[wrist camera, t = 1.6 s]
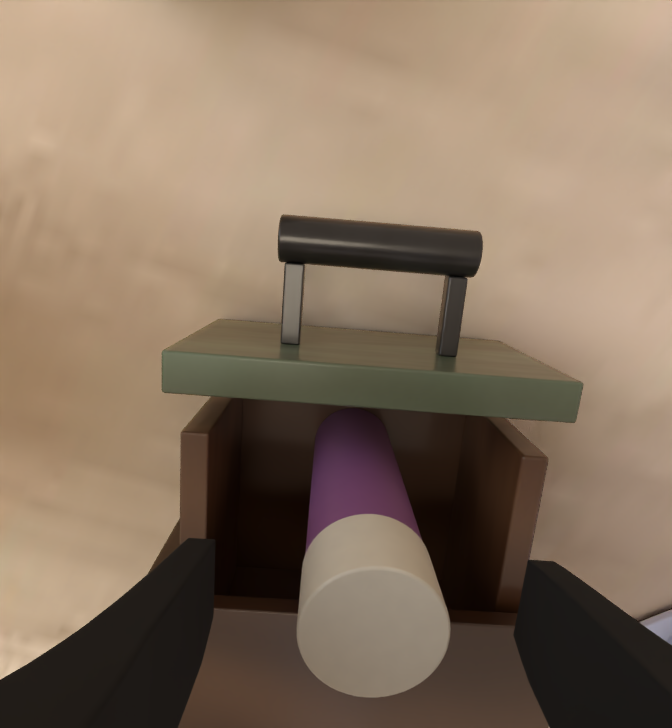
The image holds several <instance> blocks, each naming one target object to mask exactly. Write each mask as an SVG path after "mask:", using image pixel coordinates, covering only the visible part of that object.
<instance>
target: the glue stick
mask: <svg viewBox="0 0 672 728" xmlns="http://www.w3.org/2000/svg"><path fill="white" fill-rule="evenodd" d="M450 631H451V627H450V618H449V614H448V610H447V607H446V604H445V601H444V598H443V595H442V592H441V589H440V586H439V583H438V580H437V577H436V574H435V571H434V568H433V565H432V562H431V559H430V556H429V553H428V551H427V548H426V546H425V545H424V543H423V541H422V538H421V535H420V532H419V529H418V526H417V523H416V520H415V516H414V513H413V510H412V507H411V504H410V501H409V498H408V495H407V492H406V489H405V486H404V482H403V479H402V476H401V473H400V470H399V467H398V464H397V461H396V458H395V455H394V452H393V448H392V445H391V442H390V439H389V436H388V433H387V430H386V428H385V426H384V425H383V423H382V422H381V421H380V420H379V419H378V418H377V417H376V416H375V415H373V414H372V413H370V412H368V411H365V410H362V409H356V408H349V409H343V410H340V411H337V412H335V413H333V414H331V415H330V416H328V417H327V418H326V419H325V420H324V421H323V422H322V424H321V425H320V427H319V428H318V431H317V433H316V437H315V446H314V458H313V469H312V481H311V493H310V505H309V517H308V529H307V541H306V552H305V557H304V560H303V565H302V574H301V585H300V596H299V607H298V618H297V643H298V647H299V650H300V653H301V656H302V658H303V660H304V662H305V663H306V665H307V666H308V668H309V669H310V671H311V672H312V673H313V674H314V675H315V676H316V677H317V678H318V679H320V680H321V681H322V682H323V683H325V684H326V685H328V686H329V687H331V688H333V689H335V690H337V691H340V692H343V693H345V694H349V695H353V696H358V697H385V696H390V695H395V694H398V693H401V692H404V691H406V690H408V689H411V688H413V687H415V686H416V685H418V684H419V683H421V682H422V681H424V680H425V679H426V678H427V677H429V676H430V675H431V674H432V673H433V672H434V671H435V669H436V668H437V667H438V665H439V664H440V663H441V661H442V659H443V657H444V656H445V653H446V650H447V648H448V644H449V640H450Z"/></svg>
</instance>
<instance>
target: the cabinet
mask: <svg viewBox="0 0 672 728" xmlns="http://www.w3.org/2000/svg"><path fill="white" fill-rule="evenodd" d="M179 546H180V519H179V521H178V522H177V524H176V526H175V528H174V529H173V531H172V533H171V534H170V536H169V538H168V540H167V541H166V543H165V545H164V547H163V548H162V550H161V552H160V554H159V555H158V557H157V559H156V561H155V562H154V564H153V566H152V567H151V569H150V571H149V573H150V572H151V571H152V570H153V569H154V568H155V567H157V566H158V565H159V564H160V563H161V562H162V561H163V560H164V559H165V558H166V557H168V556H169V555H170V554H171V553H172V552H173V551H174V550H175V549H176V548H177V547H179ZM149 573H148V574H149ZM148 574H147V575H148ZM298 607H299V600H293V599H277V598H261V597H245V596H228V595H214V614H213V621H212V625H211V629H210V633H209V637H208V641H207V645H206V649H205V653H204V656H203V660H202V664H201V667H200V669H199V672H198V675H197V678H196V680H195V683H194V686H193V689H192V691H191V694H190V697H189V699H188V702H187V705H186V707H185V710H184V713H183V715H182V718H181V721H180V723H179V726H178V728H548V727H549V725H548V723H547V721H546V718H545V716H544V714H543V712H542V710H541V708H540V706H539V703H538V701H537V699H536V697H535V695H534V692H533V690H532V688H531V686H530V684H529V681H528V678H527V675H526V672H525V670H524V667H523V664H522V661H521V658H520V655H519V652H518V648H517V645H516V642H515V639H514V636H513V634H514V629H515V624H516V618H517V613H503V612H487V611H471V610H455V609H447V610H448V614H449V618H450V627H451V631H450V640H449V644H448V648H447V650H446V653H445V656H444V657H443V659H442V661H441V663H440V664H439V665H438V667H437V668H436V669H435V671H434V672H433V673H432V674H431V675H430V676H429V677H427V678H426V679H425V680H424V681H422V682H421V683H419V684H418V685H416V686H415V687H413V688H411V689H408V690H406V691H404V692H401V693H398V694H395V695H390V696H385V697H358V696H353V695H349V694H345V693H343V692H340V691H337V690H335V689H333V688H331V687H329V686H328V685H326V684H325V683H323V682H322V681H321V680H320V679H318V678H317V677H316V676H315V675H314V674H313V673H312V672H311V671H310V669H309V668H308V666H307V665H306V663H305V662H304V660H303V658H302V656H301V653H300V650H299V647H298V643H297V618H298Z"/></svg>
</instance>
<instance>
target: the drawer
mask: <svg viewBox="0 0 672 728" xmlns="http://www.w3.org/2000/svg"><path fill="white" fill-rule="evenodd" d="M482 250H483V241H482V235H481V233H480V232H478V231H471V230H459V229H447V228H436V227H424V226H412V225H401V224H389V223H377V222H366V221H354V220H342V219H330V218H319V217H307V216H295V215H284V214H283V215H282V216H281V218H280V223H279V232H278V258H279V261H280V262H287V263H285V269H284V287H283V305H282V323H281V324H277V323H265V322H252V321H239V320H227V319H218V320H216V321H215V322H213V323H211V324H209V325H208V326H206V327H204V328H202V329H200V330H199V331H197V332H195V333H193V334H191V335H190V336H188V337H186V338H184V339H183V340H181V341H179V342H177V343H175V344H174V345H172V346H170V347H168V348H166V349H165V350H163V351H162V392H164V393H174V394H187V395H201V396H211V398H210V399H209V400H208V401H207V402H206V403H205V405H204V406H203V407H202V408H201V409H200V410H199V412H198V413H197V414H196V415H195V416H194V418H193V419H192V420H191V421H190V422H189V423H188V425H187V426H186V427H185V428H184V429H183V430H182V432H181V469H180V545H181V544H182V543H183V542H184V541H186V540H187V539H188V538H199V539H215V540H216V543H215V578H214V595H228V596H245V597H261V598H277V599H293V600H299V596H300V585H301V574H302V565H303V560H304V557H305V552H306V541H307V529H308V517H309V505H310V493H311V481H312V469H313V458H314V446H315V437H316V433H317V431H318V428H319V427H320V425H321V424H322V422H323V421H324V420H325V419H326V418H327V417H328V416H330V415H331V414H333V413H335V412H337V411H340V410H343V409H349V408H356V409H362V410H365V411H368V412H370V413H372V414H373V415H375V416H376V417H377V418H378V419H379V420H380V421H381V422H382V423H383V425H384V426H385V428H386V430H387V433H388V436H389V439H390V442H391V445H392V448H393V452H394V455H395V458H396V461H397V464H398V467H399V470H400V473H401V476H402V479H403V482H404V486H405V489H406V492H407V495H408V498H409V501H410V504H411V507H412V510H413V513H414V516H415V520H416V523H417V526H418V529H419V532H420V535H421V538H422V541H423V543H424V545H425V546H426V548H427V551H428V553H429V556H430V559H431V562H432V565H433V568H434V571H435V574H436V577H437V580H438V583H439V586H440V589H441V592H442V595H443V598H444V601H445V604H446V607H447V609H455V610H471V611H487V612H503V613H518V608H519V603H520V598H521V593H522V587H523V582H524V577H525V572H526V567H527V562H528V560H529V558H530V553H531V547H532V542H533V537H534V532H535V527H536V522H537V516H538V511H539V506H540V501H541V496H542V491H543V486H544V480H545V475H546V470H547V465H548V457H546V456H545V455H544V454H543V453H542V452H541V451H540V450H539V449H538V448H537V447H536V446H535V445H533V444H532V443H531V442H530V441H529V440H528V439H527V438H526V437H525V436H524V435H523V434H522V433H521V432H519V431H518V430H517V429H516V428H515V427H514V426H513V425H512V424H511V423H510V422H509V421H508V420H506V419H505V418H512V419H525V420H539V421H552V422H566V423H575V422H576V419H577V414H578V409H579V404H580V399H581V394H582V389H583V383H582V382H580V381H578V380H576V379H574V378H572V377H570V376H568V375H566V374H564V373H562V372H560V371H558V370H556V369H554V368H552V367H550V366H548V365H546V364H544V363H542V362H540V361H538V360H536V359H534V358H532V357H530V356H528V355H526V354H524V353H522V352H520V351H518V350H516V349H514V348H512V347H510V346H508V345H506V344H504V343H502V342H500V341H493V340H481V339H468V338H460V331H461V323H462V316H463V309H464V302H465V295H466V288H467V281H468V280H467V278H466V277H469V278H471V277H474V276H475V274H476V273H477V271H478V268H479V266H480V262H481V258H482ZM305 264H311V265H323V266H335V267H347V268H360V269H372V270H384V271H396V272H408V273H420V274H432V275H444V276H445V280H444V287H443V295H442V303H441V310H440V318H439V326H438V334H437V336H430V335H417V334H404V333H392V332H379V331H366V330H354V329H341V328H328V327H316V326H303V325H302V310H303V295H304V280H305Z"/></svg>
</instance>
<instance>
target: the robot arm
mask: <svg viewBox="0 0 672 728" xmlns="http://www.w3.org/2000/svg"><path fill="white" fill-rule="evenodd" d="M215 543H216V540H215V539H199V538H188V539H187V540H186V541H184V542H183V543H182V544H181V545H180V546H179V547H177V548H176V549H175V550H174V551H173V552H172V553H171V554H170V555H169V556H168V557H166V558H165V559H164V560H163V561H162V562H161V563H160V564H159V565H158V566H157V567H155V568H154V569H153V570H152V571H151V572H150V573H149V574H148V575H146V576H145V577H144V578H143V579H142V580H141V581H139V582H138V583H137V584H136V585H135V586H134V587H132V588H131V589H130V590H129V591H128V592H127V593H125V594H124V595H123V596H122V597H121V598H119V599H118V600H117V601H116V602H115V603H113V604H112V605H111V606H109V607H108V608H107V609H106V610H104V611H103V612H102V613H100V614H99V615H98V616H97V617H95V618H94V619H93V620H91V621H90V622H89V623H88V624H86V625H85V626H84V627H82V628H81V629H79V630H78V631H77V632H75V633H74V634H72V635H71V636H70V637H68V638H67V639H65V640H64V641H62V642H61V643H59V644H58V645H56V646H55V647H53V648H52V649H50V650H49V651H47V652H46V653H44V654H43V655H41V656H39V657H38V658H36V659H35V660H33V661H32V662H30V663H28V664H27V665H25V666H23V667H22V668H20V669H18V670H16V671H15V672H13V673H11V674H10V675H8V676H6V677H4V678H3V679H1V680H0V728H178V726H179V723H180V721H181V718H182V715H183V713H184V710H185V707H186V705H187V702H188V699H189V697H190V694H191V691H192V689H193V686H194V683H195V680H196V678H197V675H198V672H199V669H200V667H201V664H202V660H203V656H204V653H205V649H206V645H207V641H208V637H209V633H210V629H211V625H212V621H213V614H214V578H215ZM513 636H514V639H515V642H516V645H517V648H518V652H519V655H520V658H521V661H522V664H523V667H524V670H525V672H526V675H527V678H528V681H529V684H530V686H531V688H532V690H533V692H534V695H535V697H536V699H537V701H538V703H539V706H540V708H541V710H542V712H543V714H544V716H545V718H546V721H547V723H548V725H549V727H550V728H672V609H671V610H668V611H666V612H663V613H661V614H658V615H655V616H653V617H650V618H648V619H645V620H643V621H640V622H638V621H636V620H635V619H634V618H632V617H631V616H630V615H628V614H627V613H625V612H624V611H623V610H621V609H620V608H619V607H617V606H616V605H615V604H613V603H612V602H610V601H609V600H608V599H606V598H605V597H604V596H602V595H601V594H600V593H598V592H597V591H596V590H594V589H593V588H591V587H590V586H589V585H587V584H586V583H585V582H583V581H582V580H580V579H579V578H578V577H576V576H575V575H573V574H572V573H571V572H569V571H568V570H566V569H565V568H563V567H562V566H560V565H559V564H557V563H555V562H553V561H538V560H528V562H527V567H526V572H525V577H524V582H523V587H522V593H521V598H520V603H519V608H518V613H517V618H516V624H515V629H514V634H513Z"/></svg>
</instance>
